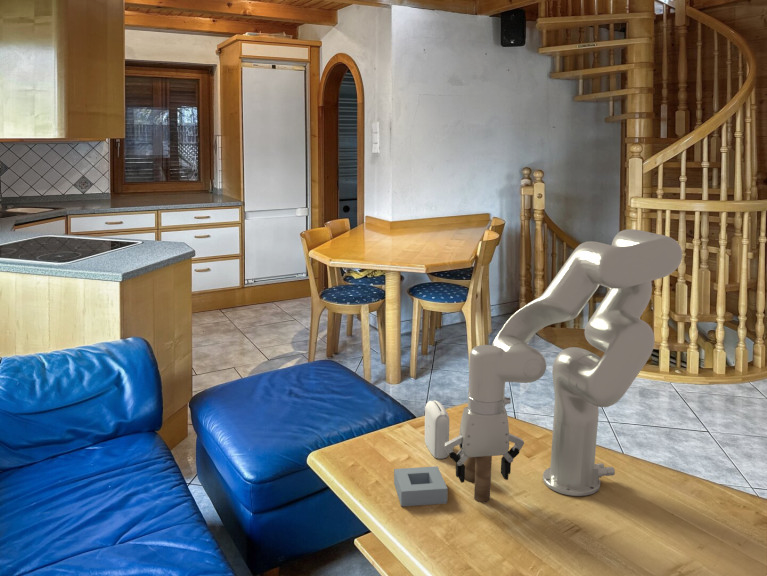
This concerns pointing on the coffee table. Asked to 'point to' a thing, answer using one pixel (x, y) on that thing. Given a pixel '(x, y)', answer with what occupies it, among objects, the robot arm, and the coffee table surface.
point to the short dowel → (470, 469)
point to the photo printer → (436, 429)
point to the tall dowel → (482, 478)
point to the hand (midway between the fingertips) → (482, 478)
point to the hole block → (420, 486)
